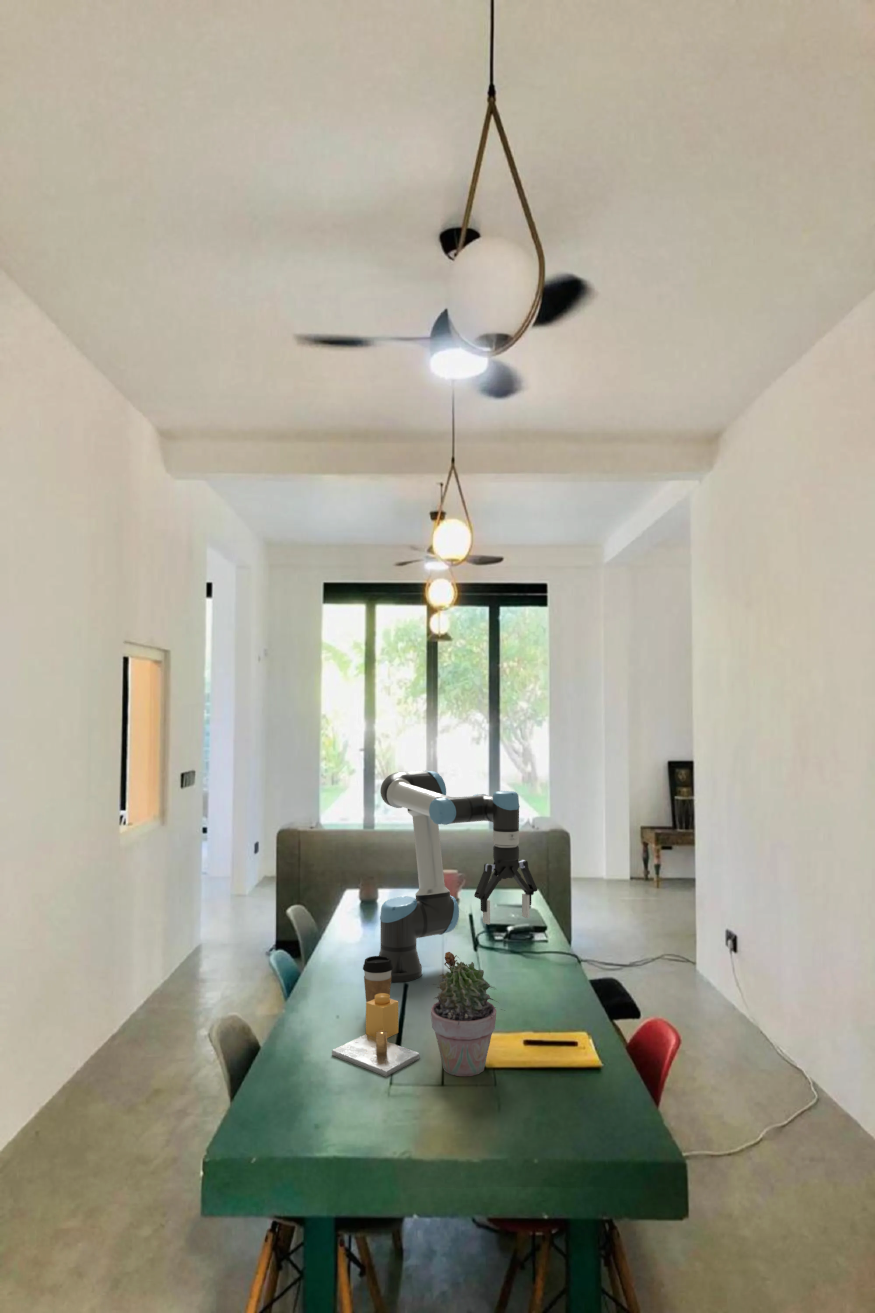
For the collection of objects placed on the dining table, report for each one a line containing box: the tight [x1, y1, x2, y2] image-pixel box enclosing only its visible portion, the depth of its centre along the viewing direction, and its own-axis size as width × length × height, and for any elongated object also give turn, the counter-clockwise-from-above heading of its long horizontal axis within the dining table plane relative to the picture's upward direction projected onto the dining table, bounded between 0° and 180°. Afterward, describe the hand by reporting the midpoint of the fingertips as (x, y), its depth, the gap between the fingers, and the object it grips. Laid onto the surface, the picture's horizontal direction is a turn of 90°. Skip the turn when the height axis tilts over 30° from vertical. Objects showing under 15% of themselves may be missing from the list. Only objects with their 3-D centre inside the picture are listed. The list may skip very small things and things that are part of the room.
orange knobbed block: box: [365, 993, 399, 1039], centre depth 197 cm, size 6×6×10 cm
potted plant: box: [424, 951, 506, 1077], centre depth 179 cm, size 18×20×25 cm
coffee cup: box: [362, 955, 393, 1002], centre depth 211 cm, size 8×8×15 cm
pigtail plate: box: [331, 1030, 421, 1078], centre depth 184 cm, size 18×12×6 cm, turn 51°
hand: (506, 920), depth 217 cm, fingers open, 13 cm apart
